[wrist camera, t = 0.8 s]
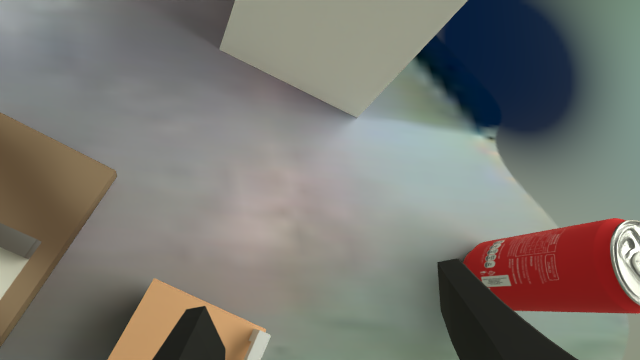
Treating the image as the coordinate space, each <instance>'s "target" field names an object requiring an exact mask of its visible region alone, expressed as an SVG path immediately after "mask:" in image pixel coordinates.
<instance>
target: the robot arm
mask: <svg viewBox="0 0 640 360" xmlns="http://www.w3.org/2000/svg"><path fill="white" fill-rule="evenodd" d="M437 263H438V277H439V291H440V306H441V312H442V315H443V318H444V321H445V324H446V327H447V330H448V333H449V336H450V339H451V341H452V344H453V346H454V348H455V350H456V353H457V355H458V357H459V359H460V360H578V359H576V358H575V357H573V356H572V355H570V354H569V353H568V352H566V351H565V350H563V349H562V348H560V347H559V346H558V345H556V344H555V343H554V342H552V341H551V340H549V339H548V338H547V337H545V336H544V335H543V334H542V333H540V332H539V331H538V330H536V329H535V328H534V327H533V326H531V325H530V324H529V323H528V322H526V321H525V320H524V319H523V318H522V317H520V316H519V315H518V314H517V313H516V312H514V311H513V310H512V309H511V308H510V307H509V306H508V305H506V304H505V303H504V302H503V301H502V300H501V299H500V298H499V297H497V296H496V295H495V294H494V293H493V292H492V291H491V290H490V289H489V288H488V287H487V286H486V285H485V284H484V283H483V282H482V281H480V280H479V279H478V278H477V277H476V276H475V275H474V274H473V273H472V271H471V270H470V269H469V268H468V267H467V266H466V265H465V264H464V263H463V262H462V261H461V260H459V259H453V260H447V261H442V262H437ZM225 352H226V349H225V347H224V344H223V342H222V340H221V338H220V336H219V334H218V332H217V330H216V327H215V325H214V323H213V321H212V319H211V317H210V315H209V313H208V310H207V308H206V306H201V307H196V308H190V309H186V310H185V312H184V313H183V315H182V316H181V318H180V319H179V321H178V322H177V324H176V325H175V326H174V328H173V329H172V331H171V332H170V334H169V335H168V337H167V338H166V340H165V341H164V343H163V344H162V346H161V347H160V349H159V350H158V352H157V353H156V355H155V356H154V358H153V359H152V360H225Z"/></svg>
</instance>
